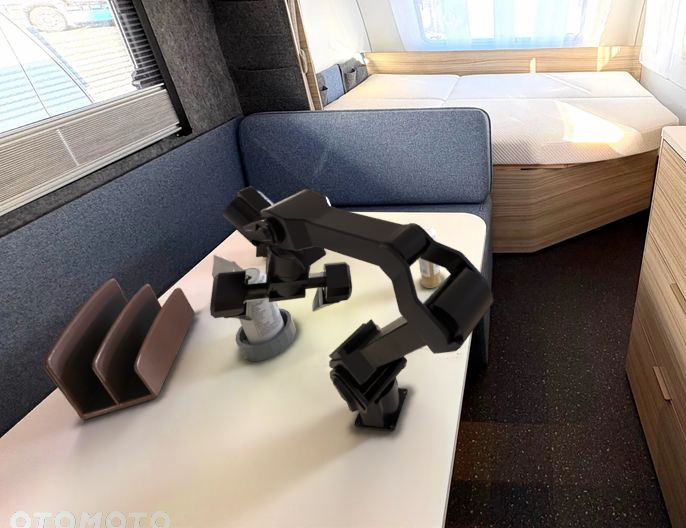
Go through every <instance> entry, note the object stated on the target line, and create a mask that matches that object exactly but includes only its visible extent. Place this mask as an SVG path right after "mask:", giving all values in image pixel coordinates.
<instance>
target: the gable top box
mask: <svg viewBox="0 0 686 528" xmlns="http://www.w3.org/2000/svg"><path fill="white" fill-rule="evenodd" d="M244 269H245V268H243V267H241V266H240V265H238V263H237V262H236V261H235V260H232V259H229V258H227V257H224V256H221V255H219V254H217V253H215V254H213V264H212V269H211V277H212V280H213V279H214V277H215V276H216V275H217V274H219V273H224V272H236V271H242V270H244Z"/></svg>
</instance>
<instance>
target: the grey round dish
mask: <svg viewBox="0 0 686 528" xmlns="http://www.w3.org/2000/svg"><path fill="white" fill-rule="evenodd" d="M278 309H279V311H280V314H281V317H282V319H283V322H284V325H285V328H284V329H283V330H282V331H281V332H280V333H279V334H278V335H277V336H275V337H274V338H272V339H270V340H269V341H266V342H264V343H261V344H256V345H250V343H249V341H248V338H247V336H246V334H245V332H244V329H243V327H242V325H240V327H239V328H238V330H237V331H236V334H235V339H234V340H235V343H236V345H237V347H238V349H239V351H240V354H241V355H242V357H243V358H244V359H245V360H247V361H250V362H261V361H265V360H268V359H271V358H273V357H275V356H278V354H280V353H282V352H283V351H285V350H286V349H287V347H288V348H289V346H290V345H291V344H292V343H293V341H294V339H295V338H296V333H297V329H296V325H295V322H294V319H293V317H292V314H291V313H290V311H289V310H288V309H284V308H278Z"/></svg>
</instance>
